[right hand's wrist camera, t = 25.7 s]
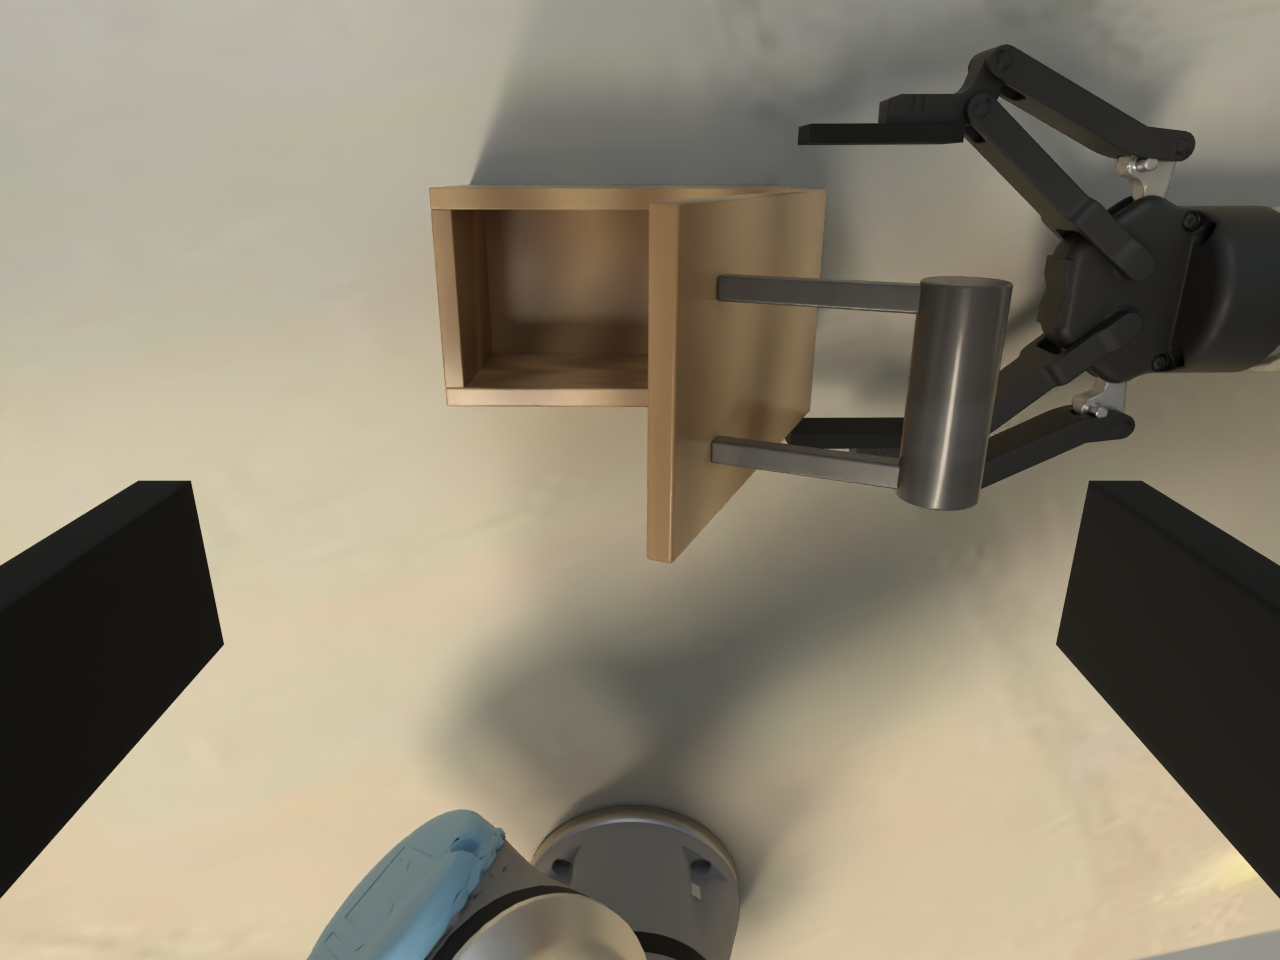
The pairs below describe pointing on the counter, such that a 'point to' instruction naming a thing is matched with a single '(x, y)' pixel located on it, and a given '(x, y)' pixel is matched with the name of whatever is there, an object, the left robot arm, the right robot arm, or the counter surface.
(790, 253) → the lid
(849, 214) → the counter surface
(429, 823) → the left robot arm
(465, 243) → the chest
